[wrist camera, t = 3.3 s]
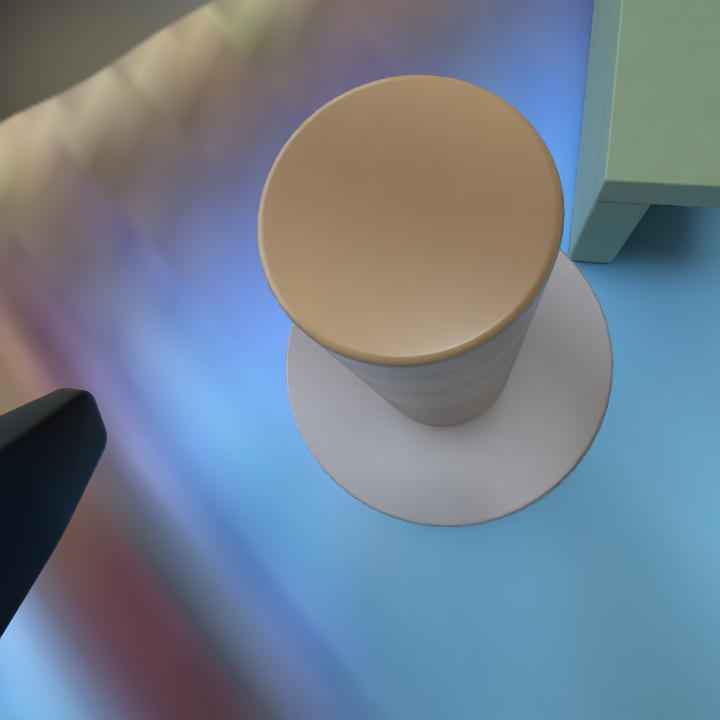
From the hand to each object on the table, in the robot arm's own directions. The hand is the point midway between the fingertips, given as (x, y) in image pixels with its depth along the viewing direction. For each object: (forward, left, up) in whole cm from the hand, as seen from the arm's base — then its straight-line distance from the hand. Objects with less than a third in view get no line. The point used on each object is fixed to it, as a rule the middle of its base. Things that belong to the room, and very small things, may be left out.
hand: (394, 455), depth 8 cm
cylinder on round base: (+2, 0, -9) cm, 9 cm away
